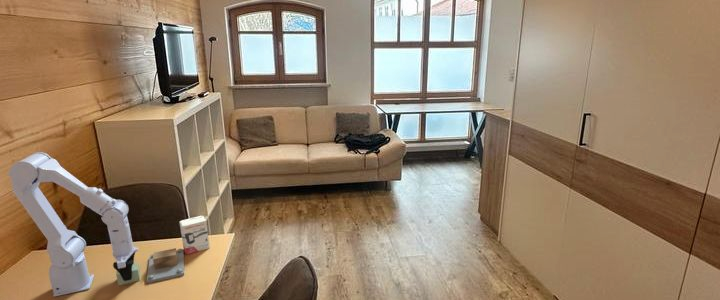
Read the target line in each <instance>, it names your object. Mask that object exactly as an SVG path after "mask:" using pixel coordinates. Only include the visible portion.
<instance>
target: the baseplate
mask: <svg viewBox="0 0 720 300" xmlns="http://www.w3.org/2000/svg"><path fill="white" fill-rule="evenodd" d="M176 251H177V257H178V265H174V266H170V267H165V268H160V269H156V270H155V268H154V262H153V255H154V253H152V254H151V255H150V256H149V260H148V269H147V275H146V276H147V277H146V284H150V283H156V282H161V281H165V280H168V279H173V278H178V277H182V276H185V251H184V248H178V249H176Z"/></svg>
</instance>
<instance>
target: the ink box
mask: <svg viewBox="0 0 720 300" xmlns="http://www.w3.org/2000/svg"><path fill="white" fill-rule="evenodd" d="M178 224H179V227H180V228H179V229H180V234H181V239H182V246H183V248H182V249H183V250H184V254H185V255H186V256H187V255H191V254H194V253H197V252H200V251H204V250H207V249H210V248H211V246H210V240H209V233H208V232H209V231H208V225H207V219H206V217H205V216H204V215H199V216H194V217H190V218H187V219H186V218H185V219H182V220H180V221H179V223H178Z"/></svg>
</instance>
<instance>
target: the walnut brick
mask: <svg viewBox="0 0 720 300" xmlns="http://www.w3.org/2000/svg"><path fill="white" fill-rule="evenodd" d="M176 250H177V248H171V249H170V248H169V249H166V250H165V249H164V250H160V251H154V252H153V254H154V255H153V262H154V268H155V270H156V269H160V268H165V267H170V266H174V265H178V257H177V251H176Z"/></svg>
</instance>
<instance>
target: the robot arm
mask: <svg viewBox="0 0 720 300" xmlns="http://www.w3.org/2000/svg"><path fill="white" fill-rule="evenodd" d="M7 175H8V177H9V178H10V180H11V181H10V182H11V190H12V192H13V194H14V195H15V197H16V198H17V200H18V201H19V202H20V204H21V205H22V206H23V208H24V209H25V211H26V212H27V213H28V215H29V216H30V218H31V219H32V220H33V222H34V223H35V225H36V226H37V227H38V229H39V230H40V232H41V233H42V234H43V236H44V237H45V238H46V240H47V244H46V245H47V246H46V252H47V254H48V255H49V261H50V263H51V265H50V266H49V268H48V277H49V281H50V285H51V289H52V292H53V297H59V296H63V295H67V294H72V293H77V292H81V291H87V290H89V289H90V288H91V286H92V282H93V280H94V277H95V275H94V273H93V274H90V273H89V268H88V264H87V260H86V256H85V253H84V250H85V249H86V247H87V242H86V240H85V239H84V238H83V237H81V236H80V235H78V233H77V232H76V231H75V230H70V229H68V228H67V226H66V225H65V224H64V223H63V221H62V220H61V218H60V217H59V215H58V214H57V212H56V210H55V209H54V207H53V206H52V205H51V203H50V201H48V199H47V198H46V196H45V195H44V194H43V192H42V190H41V189H40V188H39V186H40V184H41V183H49V182H50V183H51V182H52V183H55V184H56V185H58V186H60V187H62V188H64V189H65V190H68V191H69V192H71V193H73V194H74V195H76V196H77V197H79V201H80V203H81V204H82V205H84V206H86V207H87V208H89V210H92V211H93V212H95V213H96V214H98V215H99V216H101V217H100V218H101V220H102V222H103V223H104V224H105V225H106V226H107V231H108V236H109V240H110V244H111V249H112V257H113V258H114V260H115V261H114V262H113V264H112V267H113V268H114V269H115V270H116V272H117V271H118V272H119V273H120V275H121V277H122V278H123V280H124V281H128V280H131V279H132V265H133V264H135V254H136V253H137V252H138V251H139V246H134V243H133V239H132V233H131V232H132V231H131V228H130V223H129V219H128V213H129V211H130V208H129V205H128V204H127V203H126V201H124V200H122V199H115V198H113V197H111V196H109V195H108V194H106V192H104V190H103V189H102V188H97V187H96V186H93V187H91V186H90V187H88V186H87V184H85V183H84V182H82V181H81V180H79V179H78V178H77V177H75V176H74V175H73V174H71V173H70V172H68V170H66V169H65V168H64V167H62V166H61V165H60V163H59V162H58V160H57V159H55V158H53V157H51V156H50V155H49V154H48V153H46V152H42V151H38V152H33V153H31V154H30V155H29V156H26V157H25V158H23V159H21V160H18V161H17V162H15V163H13V164H12V165H11V167H10V169H9V171H8V172H7Z"/></svg>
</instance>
